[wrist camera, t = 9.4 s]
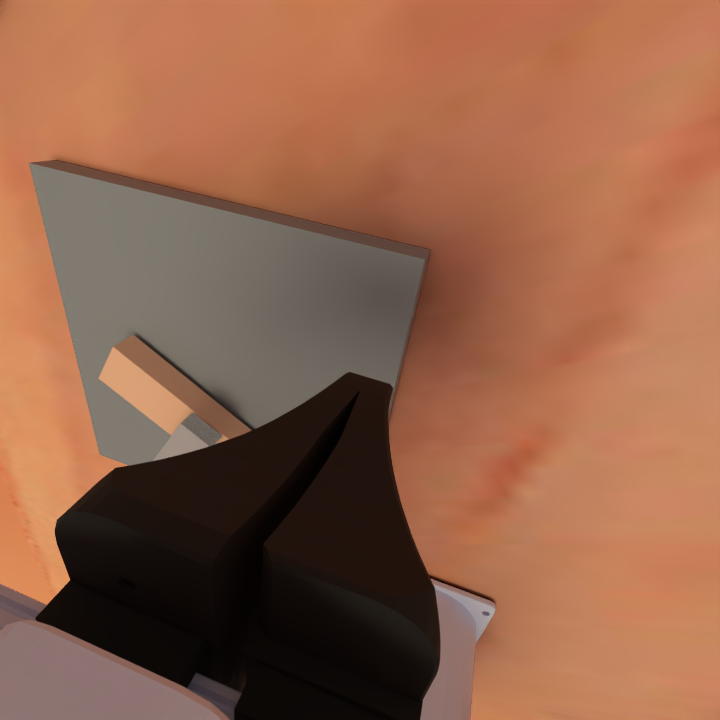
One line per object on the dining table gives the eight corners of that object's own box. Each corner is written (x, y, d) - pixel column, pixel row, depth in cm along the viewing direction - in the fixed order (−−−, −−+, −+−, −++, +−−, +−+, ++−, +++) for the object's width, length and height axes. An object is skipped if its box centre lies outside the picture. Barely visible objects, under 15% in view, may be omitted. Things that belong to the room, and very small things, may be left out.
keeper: (246, 408, 25) (211, 448, 22) (209, 450, 28) (174, 490, 25) (219, 386, 25) (180, 423, 22) (184, 431, 28) (146, 468, 25)
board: (362, 531, 30) (355, 549, 28) (115, 441, 33) (99, 454, 32) (430, 249, 19) (424, 259, 18) (55, 160, 22) (29, 162, 21)
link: (341, 498, 26) (314, 559, 22) (309, 521, 28) (280, 581, 24) (134, 331, 24) (69, 369, 21) (116, 368, 26) (54, 409, 23)
